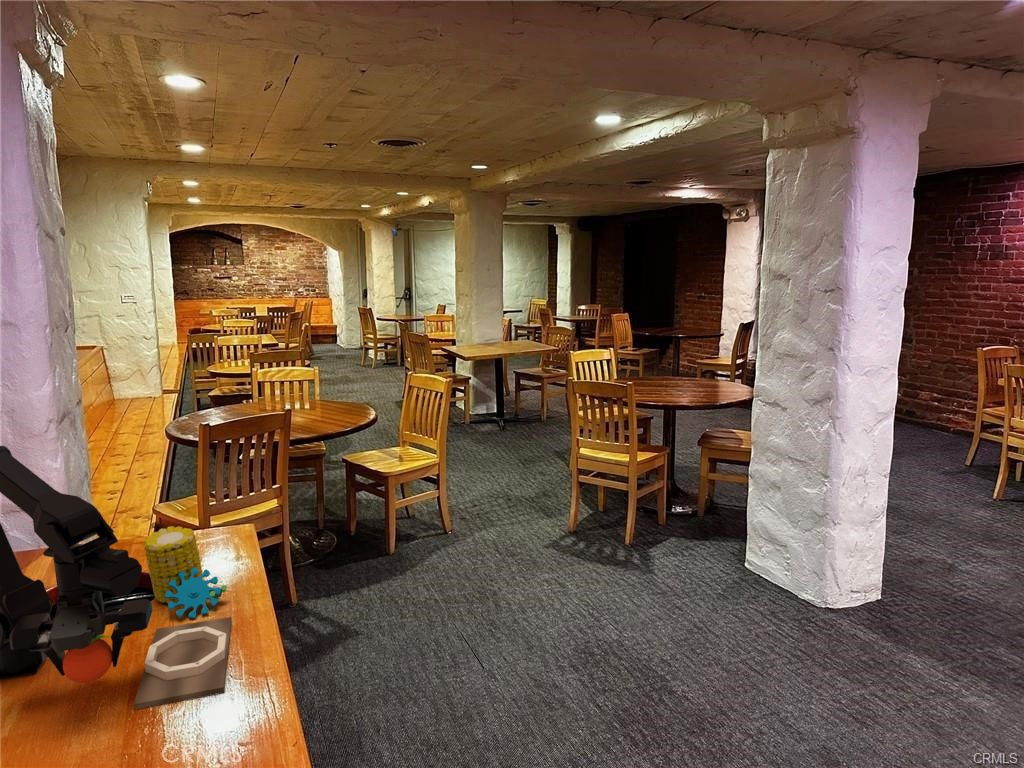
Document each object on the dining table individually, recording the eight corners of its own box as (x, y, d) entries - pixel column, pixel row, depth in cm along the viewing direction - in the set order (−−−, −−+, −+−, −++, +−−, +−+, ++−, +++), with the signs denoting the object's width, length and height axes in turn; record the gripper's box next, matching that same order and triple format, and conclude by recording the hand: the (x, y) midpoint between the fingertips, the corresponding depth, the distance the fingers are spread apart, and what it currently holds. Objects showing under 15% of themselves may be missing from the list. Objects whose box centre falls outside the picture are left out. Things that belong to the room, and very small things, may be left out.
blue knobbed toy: (163, 619, 127) (167, 567, 132) (162, 627, 131) (166, 578, 136) (226, 613, 132) (227, 564, 137) (223, 622, 136) (225, 574, 141)
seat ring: (141, 684, 109) (140, 676, 109) (154, 642, 120) (153, 634, 120) (223, 670, 113) (222, 661, 113) (228, 630, 125) (227, 622, 124)
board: (134, 709, 105) (133, 704, 105) (156, 633, 125) (156, 628, 125) (224, 692, 109) (223, 687, 109) (231, 621, 129) (231, 616, 129)
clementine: (107, 658, 114) (102, 620, 113) (130, 671, 111) (125, 633, 110) (56, 683, 108) (50, 644, 106) (79, 698, 104) (74, 658, 103)
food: (213, 594, 142) (174, 620, 133) (171, 572, 146) (131, 596, 136) (218, 533, 137) (178, 556, 128) (174, 512, 141) (132, 533, 132)
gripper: (-12, 619, 95) (3, 714, 98) (135, 598, 101) (145, 688, 105) (16, 582, 106) (29, 669, 109) (148, 565, 112) (156, 648, 115)
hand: (90, 669), depth 109 cm, fingers closed on clementine, 7 cm apart
